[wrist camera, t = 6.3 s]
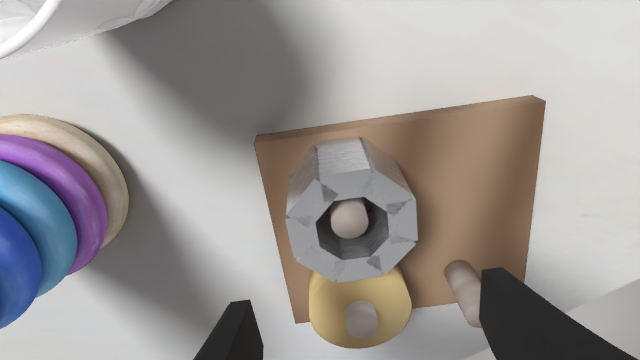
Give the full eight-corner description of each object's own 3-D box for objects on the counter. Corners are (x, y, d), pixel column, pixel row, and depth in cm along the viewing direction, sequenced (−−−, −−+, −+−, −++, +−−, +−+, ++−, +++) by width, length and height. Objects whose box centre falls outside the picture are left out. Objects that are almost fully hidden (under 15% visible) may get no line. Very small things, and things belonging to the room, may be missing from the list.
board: (532, 95, 19) (596, 123, 15) (513, 281, 24) (556, 341, 20) (256, 135, 19) (242, 173, 15) (295, 309, 25) (293, 374, 20)
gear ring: (392, 129, 18) (413, 161, 15) (399, 223, 21) (419, 271, 17) (282, 146, 18) (276, 182, 15) (301, 237, 21) (300, 287, 17)
